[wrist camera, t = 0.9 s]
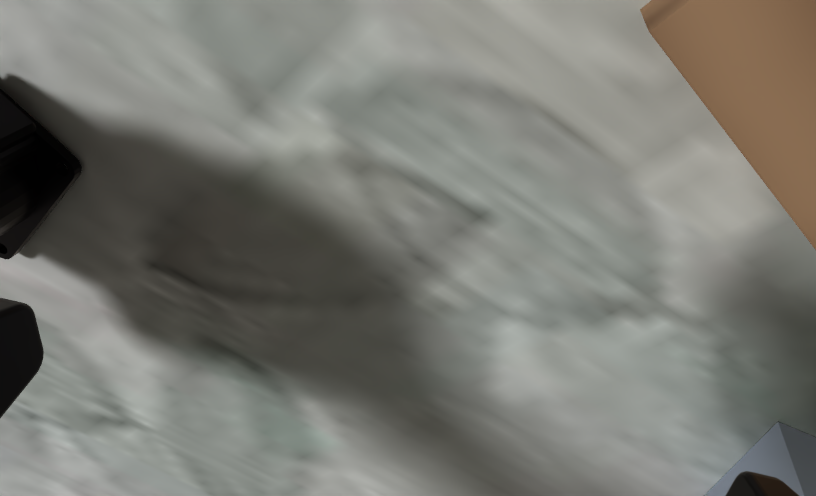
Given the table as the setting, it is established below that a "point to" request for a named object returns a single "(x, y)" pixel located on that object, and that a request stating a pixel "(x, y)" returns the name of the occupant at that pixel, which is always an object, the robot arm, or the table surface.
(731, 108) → the pedestal
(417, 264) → the table surface
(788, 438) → the pillar
